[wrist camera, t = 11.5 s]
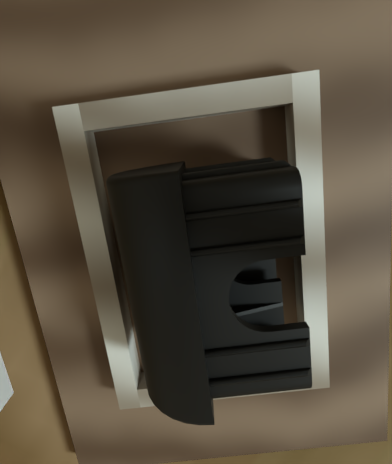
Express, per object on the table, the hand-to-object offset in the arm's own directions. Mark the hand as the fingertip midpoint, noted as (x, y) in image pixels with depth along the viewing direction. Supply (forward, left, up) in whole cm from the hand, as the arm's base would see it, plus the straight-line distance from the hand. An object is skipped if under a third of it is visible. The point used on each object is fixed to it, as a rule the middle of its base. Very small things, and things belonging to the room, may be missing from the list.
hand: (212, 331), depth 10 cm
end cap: (0, 0, -9) cm, 9 cm away
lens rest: (0, 0, -10) cm, 10 cm away
